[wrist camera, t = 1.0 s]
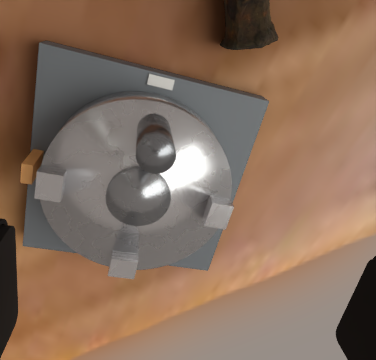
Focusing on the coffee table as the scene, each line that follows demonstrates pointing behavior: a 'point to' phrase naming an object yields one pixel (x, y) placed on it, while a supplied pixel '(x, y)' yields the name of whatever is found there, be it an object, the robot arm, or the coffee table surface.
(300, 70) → the coffee table surface
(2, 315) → the robot arm
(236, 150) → the gray plinth
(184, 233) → the silver disc
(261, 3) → the hand tool
